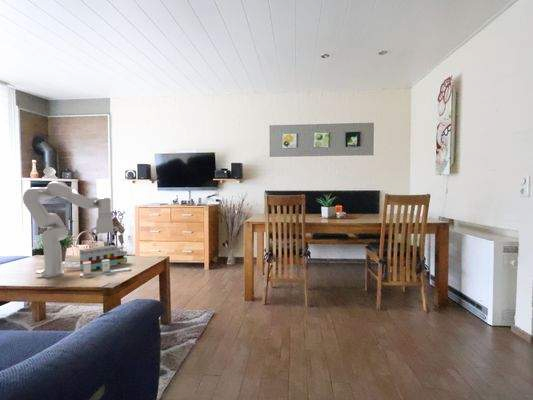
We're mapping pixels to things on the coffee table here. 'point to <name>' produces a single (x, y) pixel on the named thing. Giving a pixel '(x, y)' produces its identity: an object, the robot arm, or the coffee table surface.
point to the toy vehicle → (103, 256)
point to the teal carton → (105, 265)
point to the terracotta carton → (87, 268)
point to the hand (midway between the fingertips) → (105, 241)
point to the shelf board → (106, 272)
